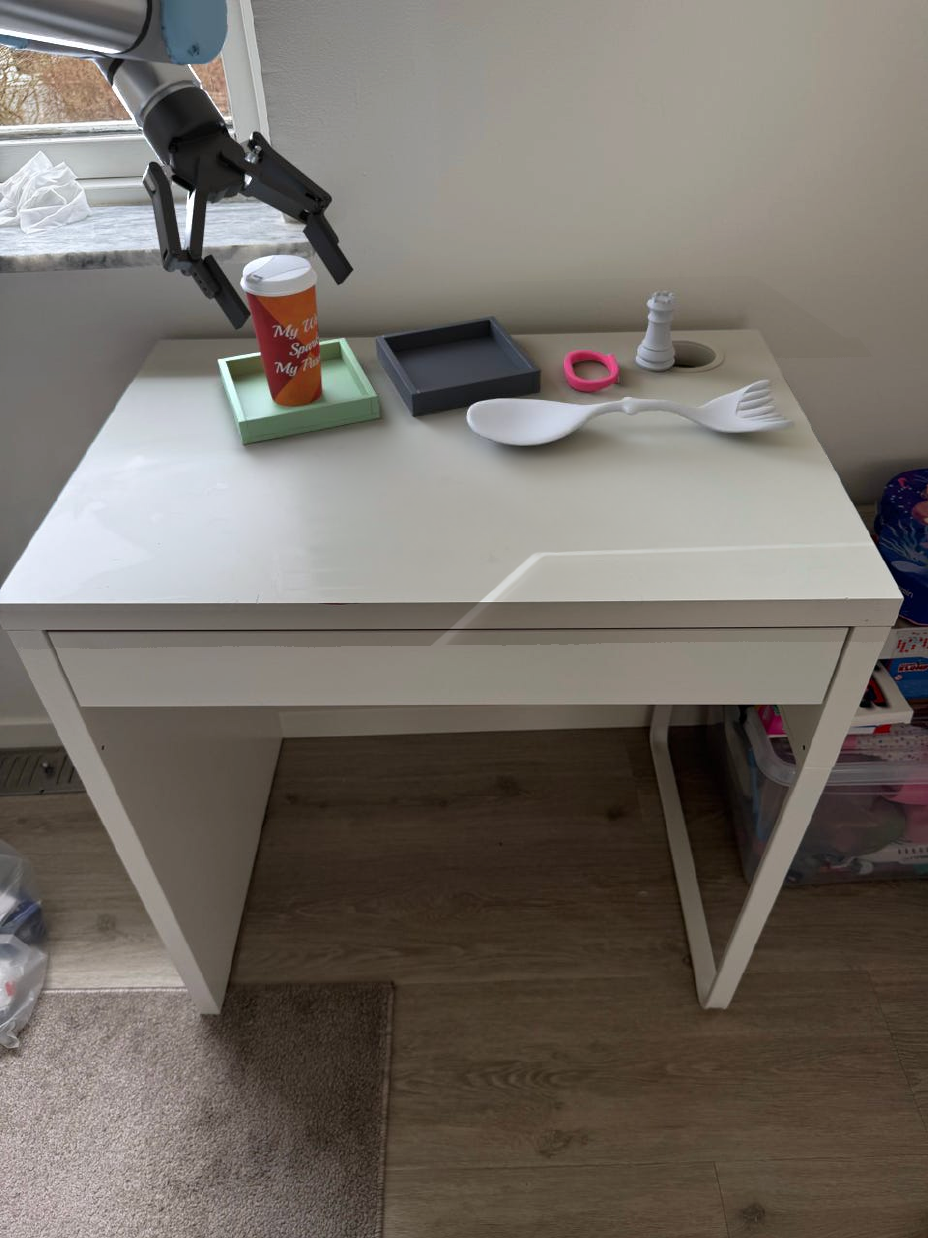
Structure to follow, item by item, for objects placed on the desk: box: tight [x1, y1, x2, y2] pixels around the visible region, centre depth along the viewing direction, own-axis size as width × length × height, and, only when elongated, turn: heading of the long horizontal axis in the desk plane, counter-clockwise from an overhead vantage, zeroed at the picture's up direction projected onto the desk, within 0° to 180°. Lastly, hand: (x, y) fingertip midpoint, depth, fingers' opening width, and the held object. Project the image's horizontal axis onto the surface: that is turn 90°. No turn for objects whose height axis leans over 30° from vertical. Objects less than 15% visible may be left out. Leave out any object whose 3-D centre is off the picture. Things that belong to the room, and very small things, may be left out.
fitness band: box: [563, 349, 620, 392], centre depth 106 cm, size 8×6×2 cm
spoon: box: [466, 379, 794, 447], centre depth 96 cm, size 9×32×4 cm, turn 91°
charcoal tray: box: [375, 315, 542, 417], centre depth 106 cm, size 15×15×3 cm
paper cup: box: [240, 254, 322, 406], centre depth 99 cm, size 8×8×14 cm
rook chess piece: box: [635, 290, 678, 372], centre depth 105 cm, size 4×4×8 cm
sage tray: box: [217, 337, 381, 445], centre depth 103 cm, size 15×15×3 cm
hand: (296, 299), depth 95 cm, fingers open, 13 cm apart
